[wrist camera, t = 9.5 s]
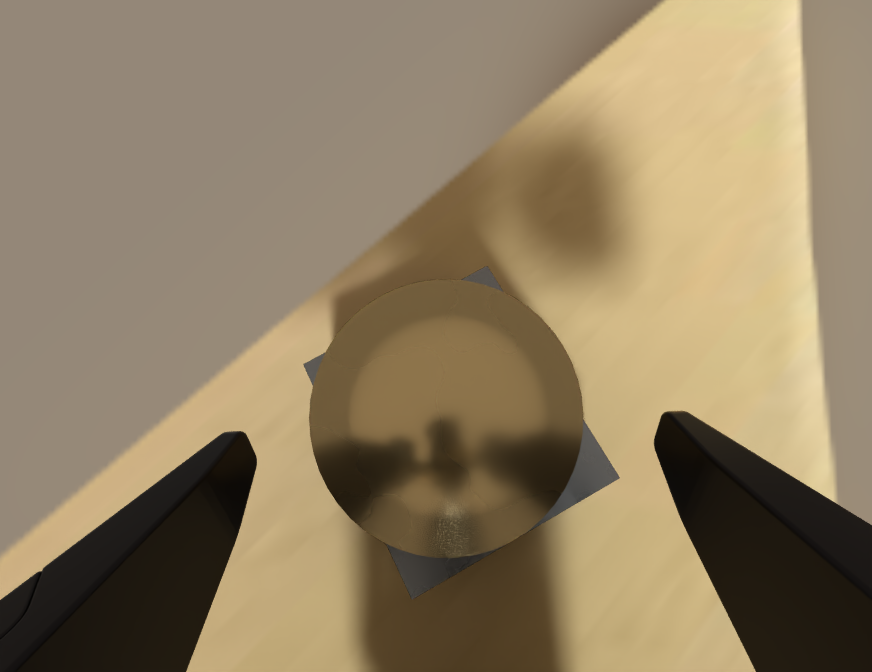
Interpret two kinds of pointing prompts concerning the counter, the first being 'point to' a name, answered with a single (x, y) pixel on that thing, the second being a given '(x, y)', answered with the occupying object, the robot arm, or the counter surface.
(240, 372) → the counter surface
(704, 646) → the counter surface
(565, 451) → the flanged metal cylinder
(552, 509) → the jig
